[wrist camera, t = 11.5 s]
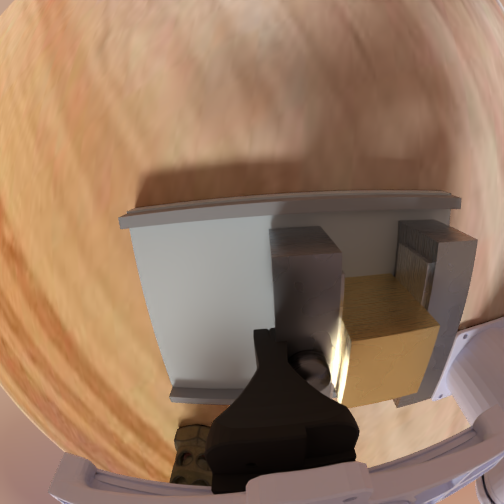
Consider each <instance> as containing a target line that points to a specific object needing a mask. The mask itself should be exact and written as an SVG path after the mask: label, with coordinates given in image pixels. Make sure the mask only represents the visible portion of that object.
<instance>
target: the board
mask: <svg viewBox="0 0 504 504" xmlns="http://www.w3.org/2000/svg"><path fill="white" fill-rule="evenodd" d="M451 209H461V198H459V197H456V196H453V195H451V193H448V192H444V191H428V190H351V191H320V192H298V193H281V194H265V195H252V196H239V197H228V198H217V199H207V200H197V201H188V202H179V203H171V204H163V205H155V206H147V207H140V208H134V209H132V210H129V211H127V214H125V215H123V216H121V217H119V218H118V219H119V224H120V229H127V228H129V229H130V234H131V239H132V244H133V249H134V254H135V259H136V264H137V268H138V272H139V277H140V281H141V285H142V289H143V293H144V297H145V301H146V305H147V308H148V312H149V315H150V319H151V322H152V326H153V329H154V333H155V336H156V339H157V342H158V346H159V349H160V352H161V355H162V358H163V361H164V364H165V367H166V370H167V372H168V375H169V378H170V381H171V384H172V386H173V387H172V390H171V393H170V396H169V397H170V400H171V402H176V403H191V404H216V405H231V404H232V403H233V402H234V401H235V400H236V399H237V398H238V396H239V395H240V394H241V393H242V391H243V390H244V389H245V387H246V386H247V385H248V383H249V382H250V380H251V378H252V377H253V375H254V373H255V371H256V370H257V366H256V357H255V348H254V339H253V330H255V329H266V328H267V329H268V330H269V329H270V328H275V327H274V309H273V291H272V274H271V258H270V243H269V229H276V228H291V227H307V226H321V227H322V229H323V230H324V231H325V232H326V233H327V235H328V236H329V237H330V238H331V239H332V241H333V242H334V243H335V244H336V245H337V247H338V248H339V249H340V250H341V252H342V270H343V272H344V273H345V278H346V277H357V276H367V275H377V274H387V273H391V274H392V275H393V276H394V271H395V261H396V250H397V236H398V221H399V220H428V219H435V220H437V221H439V222H441V223H444V224H446V225H448V226H449V224H450V211H451ZM335 397H337V396H336V392H335V388H334V390H333V397H332V398H335Z"/></svg>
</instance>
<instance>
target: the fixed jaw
mask: <svg viewBox="0 0 504 504" xmlns="http://www.w3.org/2000/svg"><path fill="white" fill-rule="evenodd" d="M477 241H478V240H477V239H475V238H473V237H471V236H469V235H467V234H465V233H463V232H461V231H459V230H457V229H454V228H452V227H450V226H448V225H446V224H444V223H441V222H439V221H437V220H435V219H428V220H399V221H398V236H397V250H396V261H395V271H394V277H395V278H396V279H397V280H398V281H399V282H400V283H401V284H402V285H403V286H404V287H405V288H406V289H407V290H408V291H409V293H410V294H411V295H412V296H413V297H414V298H415V299H416V300H417V301H418V302H419V303H420V304H421V305H422V306H423V307H424V308H425V309H426V310H427V311H428V312H429V313H430V314H431V316H432V317H433V318H434V319H435V320H436V321H437V322H438V323H439V324H440V328H439V332H438V335H437V339H436V342H435V345H434V348H433V351H432V354H431V357H430V360H429V363H428V366H427V369H426V371H425V374H424V377H423V379H422V382H421V384H420V387H419V389H418V392H417V393H414V394H410V395H407V396H403V397H399V398H395V399H393V401H394V403H395V405H396V407H397V408H399V407H403V406H406V405H410V404H413V403H417V402H420V401H423V400H427V399H430V398H431V397H432V395H433V393H434V391H435V388H436V386H437V384H438V382H439V379H440V377H441V375H442V372H443V370H444V367H445V365H446V362H447V359H448V357H449V354H450V351H451V348H452V346H453V343H454V340H455V337H456V334H457V331H458V327H459V324H460V321H461V317H462V314H463V310H464V306H465V303H466V299H467V295H468V290H469V286H470V281H471V277H472V272H473V266H474V261H475V255H476V248H477Z"/></svg>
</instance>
